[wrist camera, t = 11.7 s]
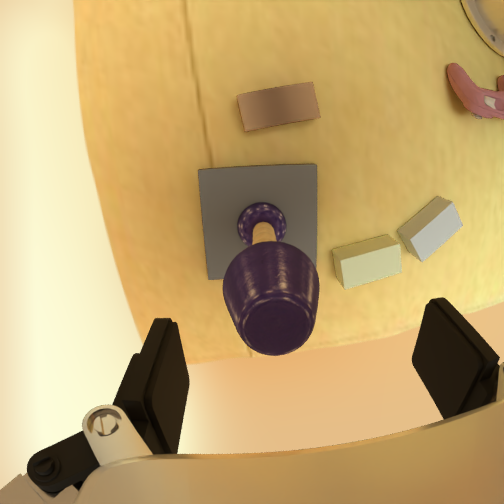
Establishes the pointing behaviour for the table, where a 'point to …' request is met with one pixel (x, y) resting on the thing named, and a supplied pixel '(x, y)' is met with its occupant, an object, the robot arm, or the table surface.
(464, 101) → the video game controller
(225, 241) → the pad
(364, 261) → the brick
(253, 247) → the toy lamp
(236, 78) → the table surface
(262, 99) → the brick
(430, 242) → the brick
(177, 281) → the table surface
